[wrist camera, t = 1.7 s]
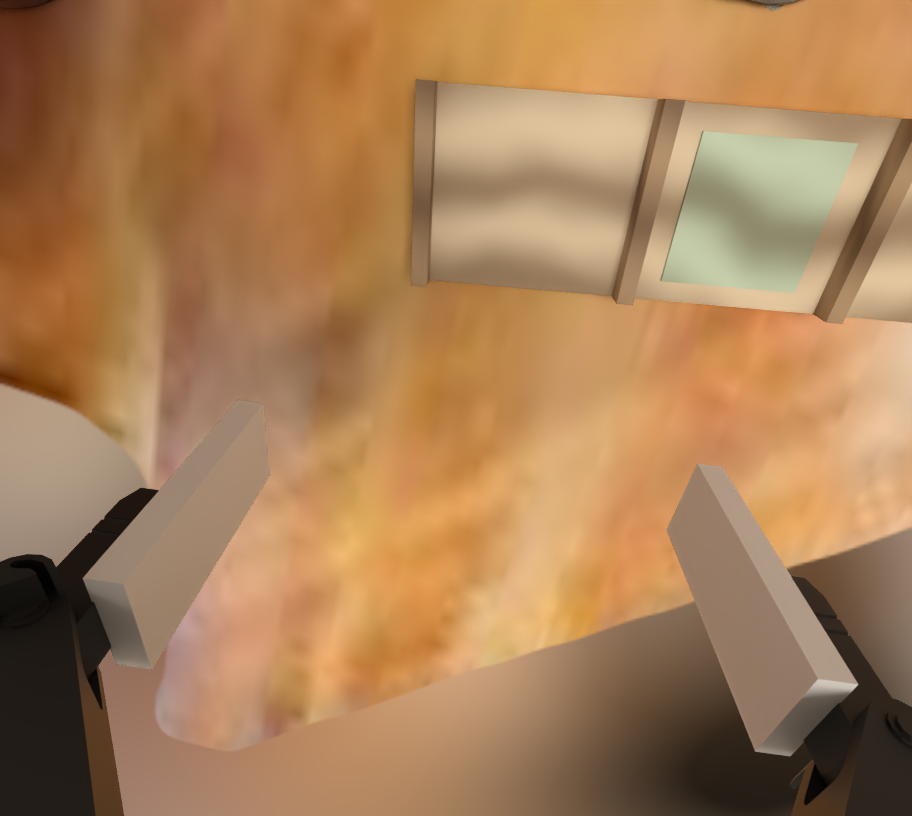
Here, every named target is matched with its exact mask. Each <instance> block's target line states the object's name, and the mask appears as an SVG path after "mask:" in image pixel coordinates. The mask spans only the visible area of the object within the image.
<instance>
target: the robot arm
mask: <svg viewBox="0 0 912 816" xmlns="http://www.w3.org/2000/svg"><path fill="white" fill-rule="evenodd" d="M47 1H49V0H0V7H1V8H26V7H32V6H36V5H39V4H42V3H45V2H47ZM269 476H270V469H269V458H268V447H267V436H266V425H265V414H264V403H257V402H250V401H243V400H238V401H237V402H236V403H235V404H234V405H233V406H232V407H231V409H230V410H229V411H228V412H227V413H226V414H225V415H224V417H223V418H222V419H221V420H220V421H219V422H218V424H217V425H216V426H215V427H214V428H213V429H212V430H211V432H210V433H209V434H208V435H207V436H206V437H205V438H204V440H203V441H202V442H201V443H200V444H199V445H198V446H197V448H196V449H195V450H194V451H193V452H192V453H191V454H190V456H189V457H188V458H187V459H186V460H185V461H184V463H183V464H182V465H181V466H180V467H179V468H178V469H177V471H176V472H175V473H174V474H173V475H172V476H171V477H170V479H169V480H168V481H167V482H166V483H165V484H164V485H163V487H162V488H161V489H160V490H153V489H146V488H140V489H138V490H137V491H135V492H133V493H131V494H130V495H128V496H126V497H125V498H123V499H121V500H120V501H119V502H118V503H117V504H116V505H115V506H114V507H113V508H112V509H111V510H110V511H109V512H108V513H107V514H106V515H105V518H104V520H101V521H100V522H99V523H98V524H97V525H96V526H95V527H94V528H93V529H92V532H91V533H88V534H87V535H86V536H85V538H84V539H83V540H82V541H81V542H80V543H79V544H78V545H77V546H76V547H75V548H74V549H73V550H72V551H71V552H70V553H69V555H68V556H67V557H66V558H65V559H64V560H63V561H62V562H61V563H60V564H59V565H58V566H57V567H56V566H55V565H54V563H53V561H52V559H50V558H47V557H45V556H43V555H32V554H31V555H30V554H26V555H21V556H16V557H11V558H9V559H6V560H4V561H1V562H0V816H124V813H123V806H122V800H121V794H120V788H119V782H118V775H117V769H116V763H115V757H114V750H113V744H112V739H111V732H110V726H109V719H108V713H107V707H106V701H105V695H104V688H103V682H102V676H101V672H100V669H99V667H98V665H99V664H100V662H101V661H102V659H103V658H104V657H105V655H106V654H107V652H108V651H109V650H110V649H111V651H112V654H113V657H114V659H115V662H116V664H118V665H125V666H132V667H139V668H148V669H152V668H153V667H154V665H155V663H156V662H157V660H158V658H159V657H160V655H161V654H162V652H163V650H164V649H165V647H166V645H167V644H168V642H169V640H170V639H171V637H172V635H173V634H174V632H175V630H176V629H177V627H178V626H179V624H180V622H181V621H182V619H183V617H184V616H185V614H186V612H187V611H188V609H189V607H190V606H191V604H192V603H193V601H194V599H195V598H196V596H197V594H198V593H199V591H200V589H201V588H202V586H203V584H204V583H205V581H206V580H207V578H208V576H209V575H210V573H211V571H212V570H213V568H214V566H215V565H216V563H217V561H218V560H219V558H220V557H221V555H222V553H223V552H224V550H225V548H226V547H227V545H228V543H229V542H230V540H231V538H232V537H233V535H234V534H235V532H236V530H237V529H238V527H239V525H240V524H241V522H242V520H243V519H244V517H245V515H246V514H247V512H248V511H249V509H250V507H251V506H252V504H253V502H254V501H255V499H256V497H257V496H258V494H259V492H260V491H261V489H262V488H263V486H264V484H265V483H266V481H267V479H268V478H269ZM667 532H668V535H669V537H670V540H671V542H672V545H673V547H674V550H675V552H676V555H677V557H678V560H679V562H680V565H681V567H682V570H683V572H684V575H685V577H686V580H687V582H688V585H689V587H690V590H691V592H692V595H693V597H694V600H695V602H696V605H697V607H698V610H699V612H700V615H701V617H702V619H703V622H704V624H705V627H706V630H707V632H708V635H709V637H710V640H711V642H712V644H713V647H714V650H715V652H716V655H717V657H718V660H719V662H720V665H721V667H722V670H723V672H724V675H725V677H726V680H727V682H728V685H729V687H730V690H731V692H732V694H733V697H734V699H735V702H736V704H737V707H738V709H739V712H740V714H741V717H742V719H743V722H744V724H745V727H746V729H747V732H748V734H749V737H750V739H751V742H752V744H753V747H754V749H755V751H756V752H764V753H771V754H779V755H786V756H791V755H792V754H793V753H794V752H795V751H796V750H797V749H798V748H799V746H800V745H801V744H802V743H803V742H805V744H806V746H807V748H808V750H809V753H810V755H811V757H812V759H813V760H812V761H811V762H810V763H809V764H808V765H807V766H806V767H805V768H804V769H803V770H802V771H801V772H800V773H799V774H798V775H797V776H796V777H795V778H794V779H793V780H792V781H791V783H790V784H789V786H790V787H792V788H793V789H795V788H796V787H797V786H799V784H801V785H800V788H799V791H798V795H797V798H796V801H795V804H794V808H793V811H792V814H791V816H912V707H910V706H908V705H907V704H905V703H903V702H901V701H899V700H896V699H893V698H891V696H890V695H889V693H888V692H887V690H886V689H885V687H884V686H883V684H882V683H881V681H880V680H879V678H878V677H877V675H876V674H875V672H874V671H873V669H872V668H871V666H870V665H869V663H868V662H867V660H866V659H865V657H864V656H863V654H862V653H861V651H860V650H859V648H858V647H857V645H856V644H855V642H854V641H853V639H852V638H851V636H848V634H847V633H848V632H847V630H846V629H845V627H844V626H843V624H842V623H841V621H840V620H837V615H836V614H835V612H834V611H833V609H832V608H831V606H830V605H829V603H828V602H827V600H826V599H825V597H824V596H823V595H822V594H821V593H820V592H819V591H818V590H817V589H816V588H815V587H813V586H812V585H811V584H810V583H809V582H808V581H807V580H806V579H805V578H800V577H793V576H790V574H789V573H788V571H787V569H786V568H785V566H784V565H783V563H782V561H781V560H780V558H779V557H778V555H777V553H776V552H775V550H774V549H773V547H772V545H771V544H770V542H769V541H768V539H767V537H766V536H765V534H764V533H763V531H762V529H761V528H760V526H759V525H758V523H757V521H756V520H755V518H754V517H753V515H752V513H751V512H750V510H749V509H748V507H747V505H746V504H745V502H744V501H743V499H742V497H741V496H740V494H739V493H738V491H737V489H736V488H735V486H734V485H733V483H732V481H731V480H730V478H729V477H728V475H727V473H726V472H725V470H724V469H723V467H718V466H710V465H703V464H697V466H696V468H695V470H694V472H693V474H692V476H691V479H690V481H689V483H688V485H687V487H686V489H685V491H684V493H683V496H682V498H681V500H680V502H679V504H678V506H677V508H676V511H675V513H674V515H673V517H672V519H671V521H670V523H669V526H668V528H667Z"/></svg>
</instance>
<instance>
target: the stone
mask: <svg viewBox="0 0 912 816" xmlns="http://www.w3.org/2000/svg"><path fill="white" fill-rule="evenodd" d="M751 1H755V2H759V3H764V4H765V5H766V8H769V10H771V11H775V10H778V9H779V8H780V7H782V5H781V6H779V7H778V6H777V4H787V3H793V2H796V1H799V0H751ZM773 8H775V9H773Z"/></svg>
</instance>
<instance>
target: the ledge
mask: <svg viewBox="0 0 912 816" xmlns="http://www.w3.org/2000/svg"><path fill="white" fill-rule="evenodd" d="M429 280H436V281H447V282H458V283H469V284H481V285H492V286H503V287H515V288H526V289H537V290H548V291H560V292H571V293H582V294H594V295H605V296H612V297H613V299H614V301H615V302H616V304H624V305H633V301H634V298H639V299H650V300H661V301H673V302H684V303H695V304H707V305H718V306H729V307H740V308H752V309H763V310H774V311H786V312H797V313H808V314H814V315H815V316H817V317H818V318H820V319H821V320H823V321H825V322H827V323H838V324H842V323H843V321H844V319H845V317H853V318H865V319H876V320H887V321H898V322H910V323H912V119H899V118H887V117H874V116H861V115H849V114H836V113H823V112H811V111H798V110H785V109H773V108H760V107H748V106H735V105H722V104H710V103H697V102H685V101H684V100H671V99H646V98H634V97H621V96H609V95H596V94H583V93H571V92H558V91H545V90H533V89H520V88H507V87H495V86H482V85H470V84H457V83H444V82H437V81H431V80H418V79H416V91H415V135H414V179H413V222H412V266H411V286H422V287H427V285H428V282H429Z"/></svg>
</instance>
